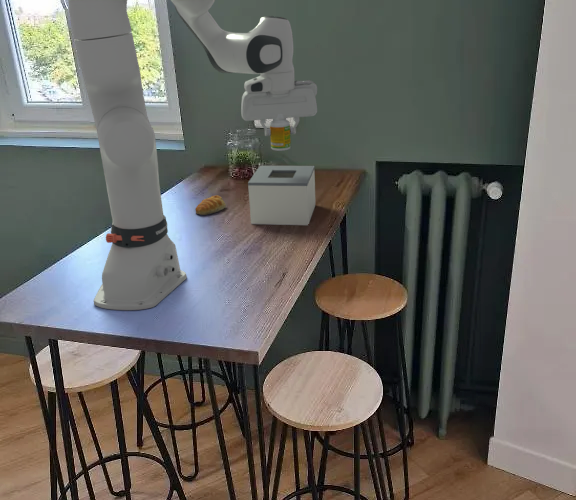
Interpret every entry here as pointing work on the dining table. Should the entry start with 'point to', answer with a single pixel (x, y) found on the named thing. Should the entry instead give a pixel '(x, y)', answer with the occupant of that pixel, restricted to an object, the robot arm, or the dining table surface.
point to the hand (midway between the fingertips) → (280, 134)
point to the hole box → (282, 195)
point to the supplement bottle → (280, 133)
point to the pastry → (210, 205)
